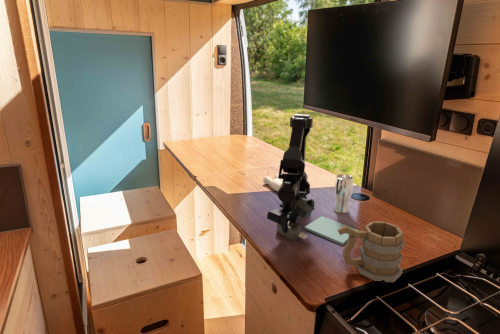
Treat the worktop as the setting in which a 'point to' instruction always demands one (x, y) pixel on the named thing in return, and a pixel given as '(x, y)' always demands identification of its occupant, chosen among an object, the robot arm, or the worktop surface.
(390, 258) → the tankard
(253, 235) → the worktop surface
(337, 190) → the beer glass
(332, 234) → the mat
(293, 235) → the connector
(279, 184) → the binoculars
